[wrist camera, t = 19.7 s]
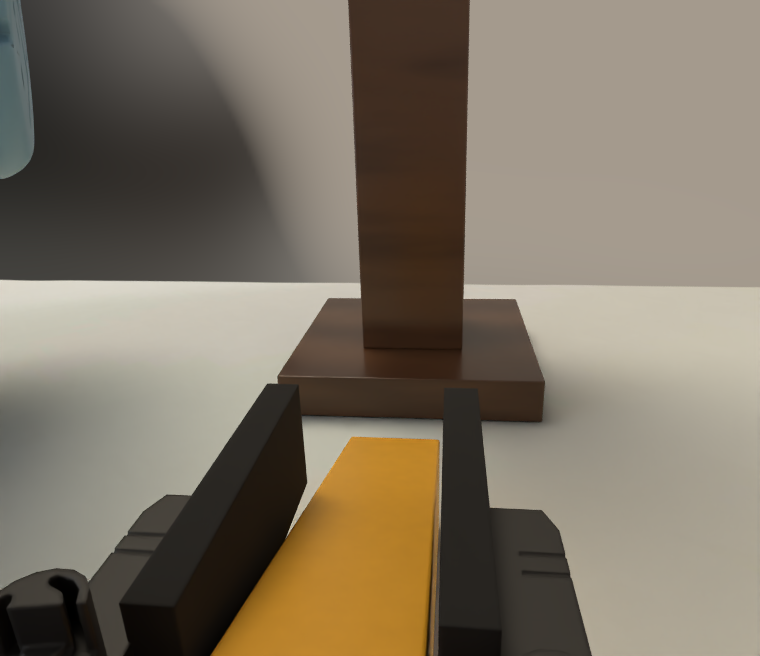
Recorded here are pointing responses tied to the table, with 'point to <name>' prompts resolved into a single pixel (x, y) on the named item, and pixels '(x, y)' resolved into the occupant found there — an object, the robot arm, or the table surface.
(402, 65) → the stand
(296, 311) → the table surface
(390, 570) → the peg
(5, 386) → the table surface
